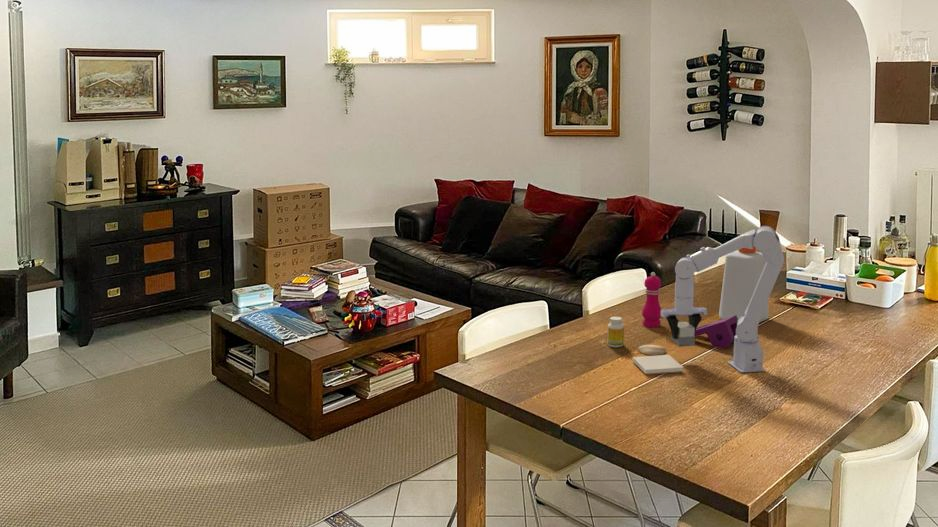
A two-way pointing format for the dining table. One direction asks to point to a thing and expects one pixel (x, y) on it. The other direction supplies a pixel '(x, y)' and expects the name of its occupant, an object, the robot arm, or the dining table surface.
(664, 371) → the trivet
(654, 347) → the metal coaster
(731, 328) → the mounting bracket
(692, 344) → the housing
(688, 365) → the dining table surface
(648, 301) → the pepper mill
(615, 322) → the supplement bottle
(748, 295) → the plastic bottle
